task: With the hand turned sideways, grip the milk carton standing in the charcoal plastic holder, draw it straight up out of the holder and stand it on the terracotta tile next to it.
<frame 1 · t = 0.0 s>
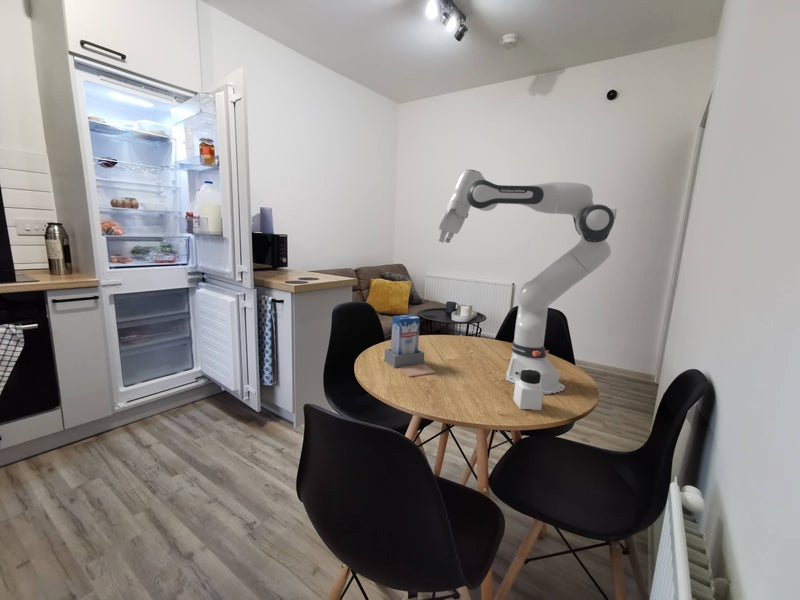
hand: (444, 242, 144), 52 cm above the table, tool tilted 20°, fingers open, 8 cm apart
carton holder: (403, 362, 150), on the table
medicine bottle: (526, 405, 115), on the table
milk carton: (403, 362, 150), resting in carton holder
terracotta tile: (416, 371, 140), on the table
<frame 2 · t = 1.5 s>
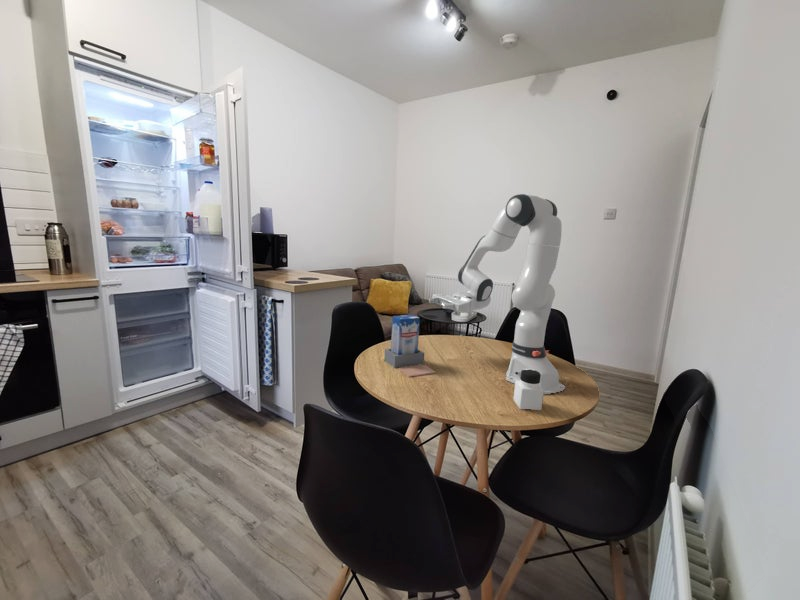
hand: (436, 303, 151), 25 cm above the table, tool horizontal, fingers open, 8 cm apart
nothing on the table moved.
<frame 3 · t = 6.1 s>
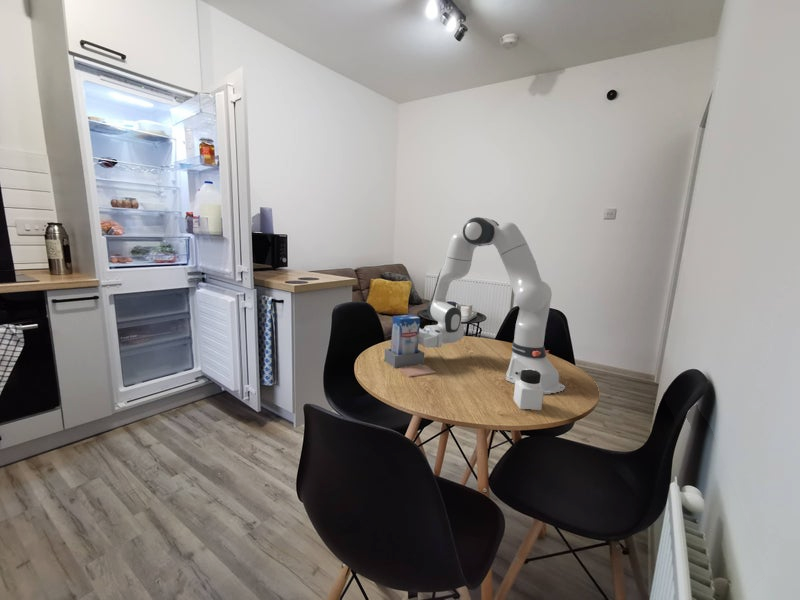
hand: (403, 337, 147), 11 cm above the table, tool horizontal, fingers closed
milk carton: (403, 362, 150), resting in carton holder, touching gripper
everything else where it was.
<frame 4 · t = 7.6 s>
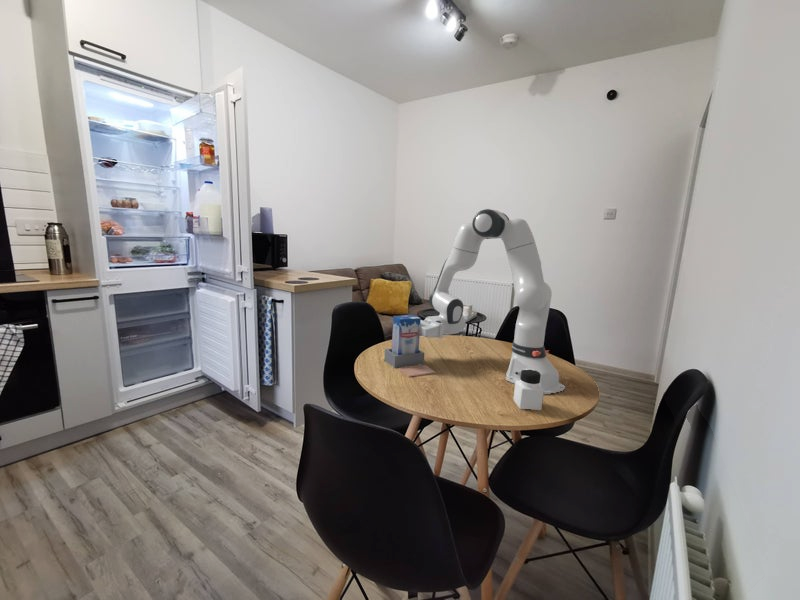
hand: (404, 328, 147), 15 cm above the table, tool horizontal, fingers closed on milk carton
milk carton: (404, 362, 150), resting in carton holder, touching gripper
everything else where it was.
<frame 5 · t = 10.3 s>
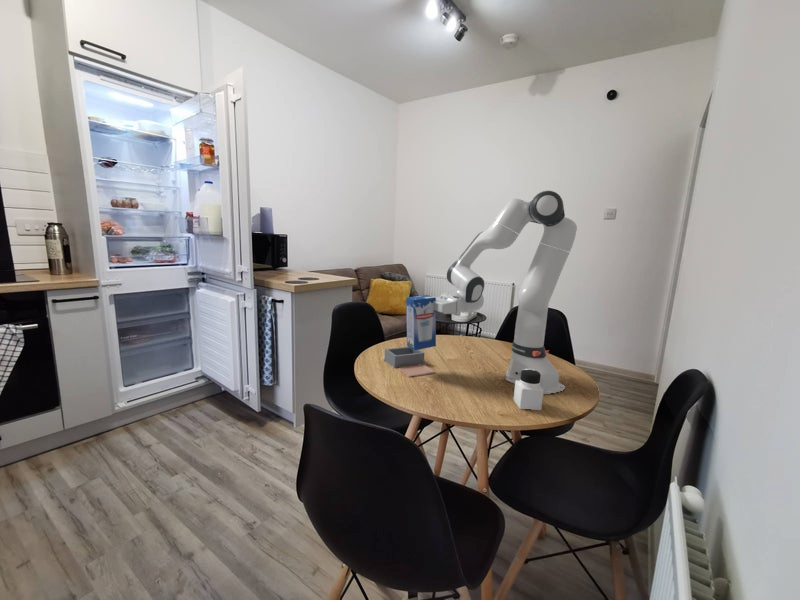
hand: (418, 304, 136), 27 cm above the table, tool horizontal, fingers closed on milk carton
milk carton: (421, 346, 139), point 10 cm above the table, touching gripper
everything else where it was.
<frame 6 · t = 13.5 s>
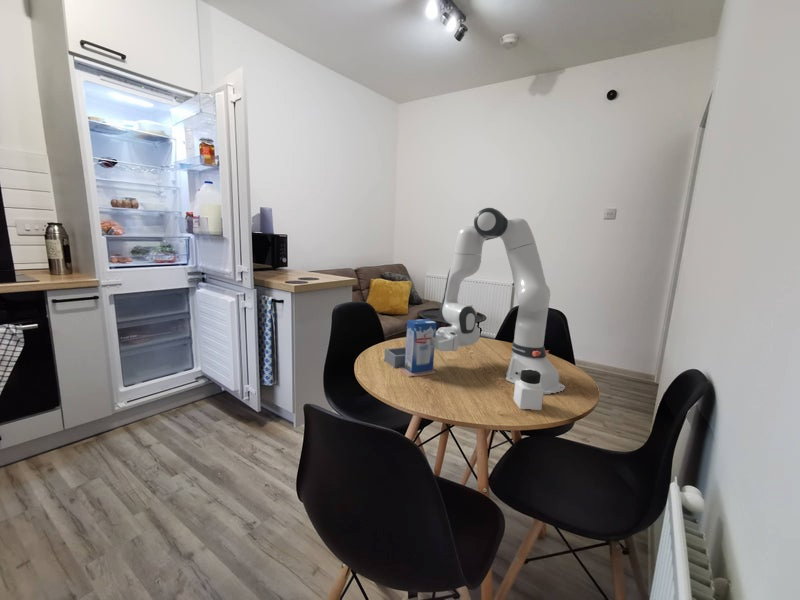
hand: (416, 340, 138), 13 cm above the table, tool horizontal, fingers closed, pressing on milk carton
milk carton: (418, 369, 141), resting on terracotta tile, touching gripper
everything else where it was.
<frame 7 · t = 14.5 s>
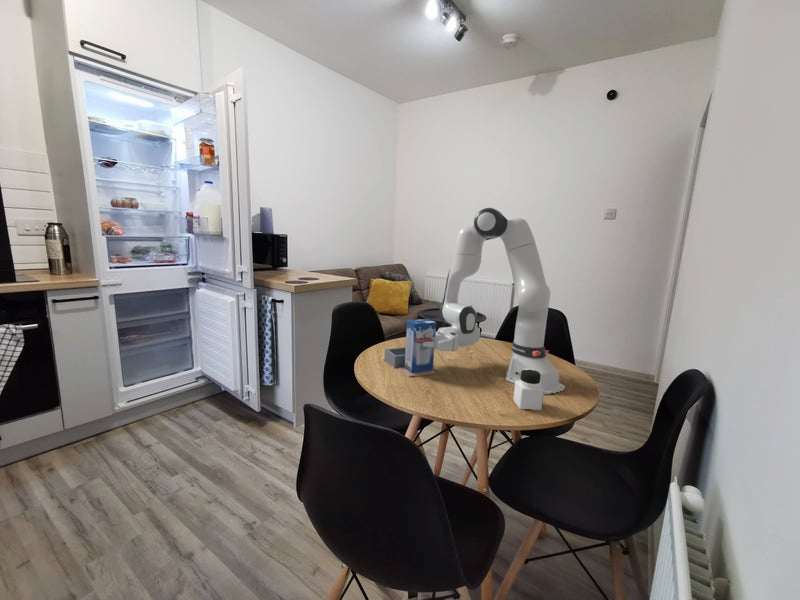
hand: (416, 340, 138), 13 cm above the table, tool horizontal, fingers open, 8 cm apart
milk carton: (418, 369, 141), resting on terracotta tile
everything else where it was.
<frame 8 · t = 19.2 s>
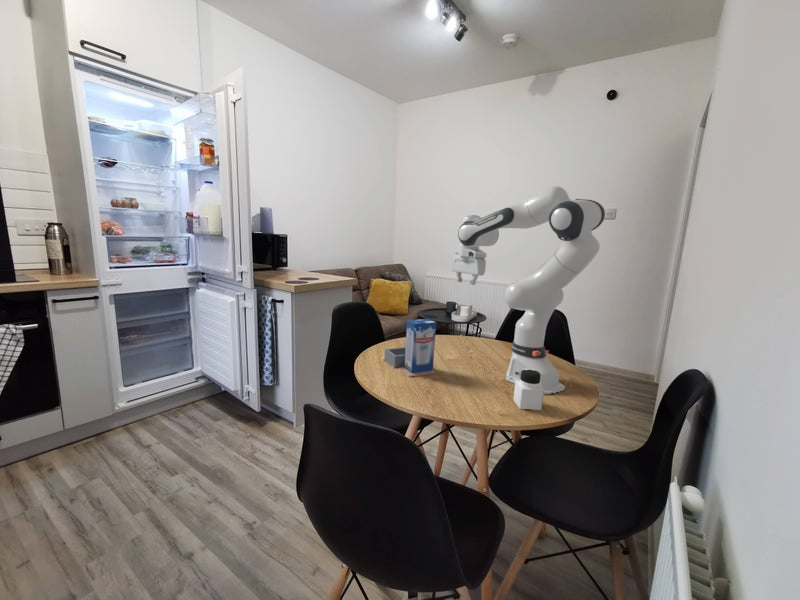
hand: (466, 283, 158), 34 cm above the table, tool pointing down, fingers open, 8 cm apart
nothing on the table moved.
at the end: milk carton inside the target area (1.1 cm from its centre), resting on terracotta tile; milk carton tilted 0°; the gripper is holding nothing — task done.
